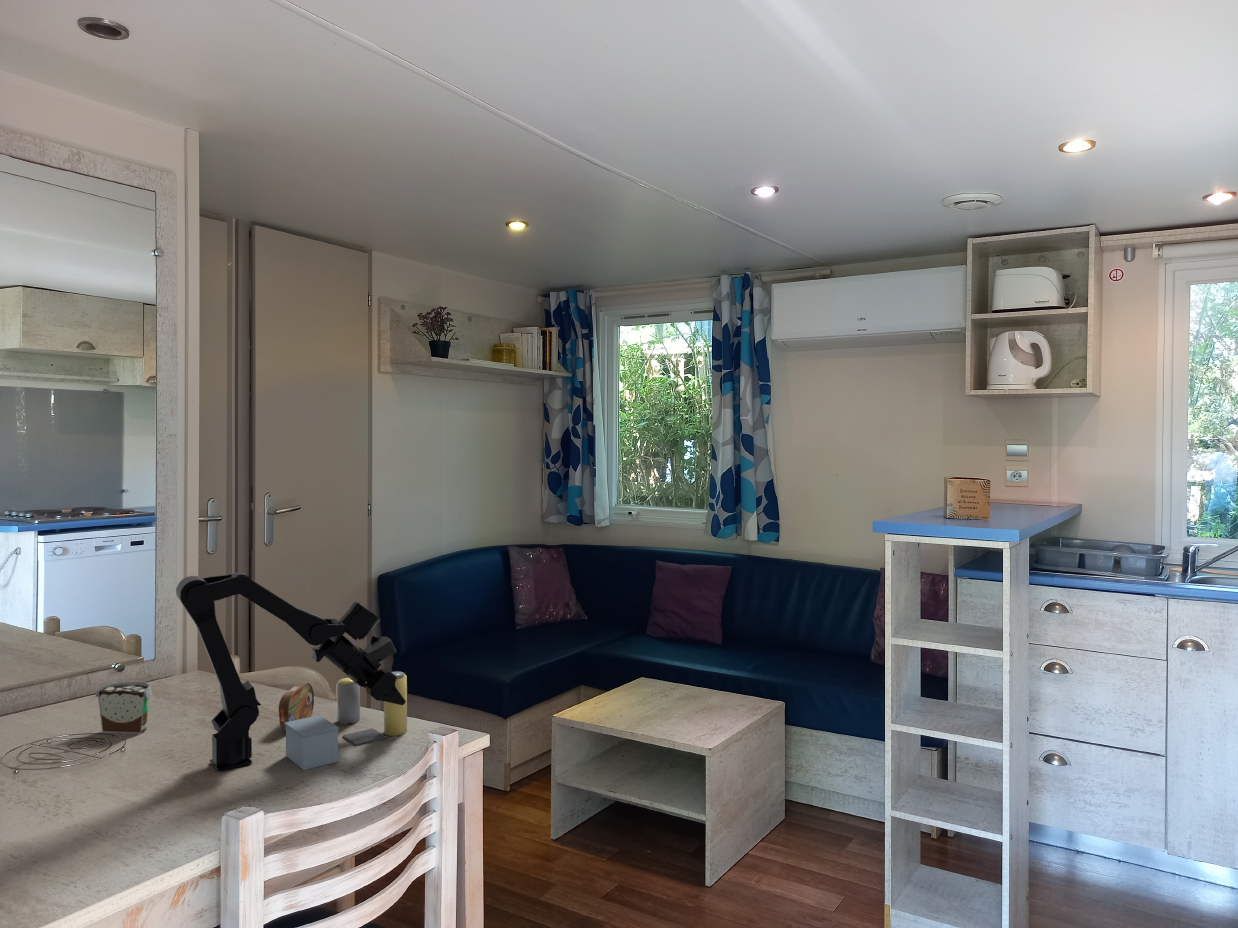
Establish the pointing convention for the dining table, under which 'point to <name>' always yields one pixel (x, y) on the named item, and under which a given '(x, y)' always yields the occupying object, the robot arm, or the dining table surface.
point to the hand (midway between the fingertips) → (397, 697)
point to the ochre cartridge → (396, 709)
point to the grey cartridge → (348, 701)
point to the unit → (311, 742)
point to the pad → (364, 736)
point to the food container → (124, 707)
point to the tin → (296, 704)
